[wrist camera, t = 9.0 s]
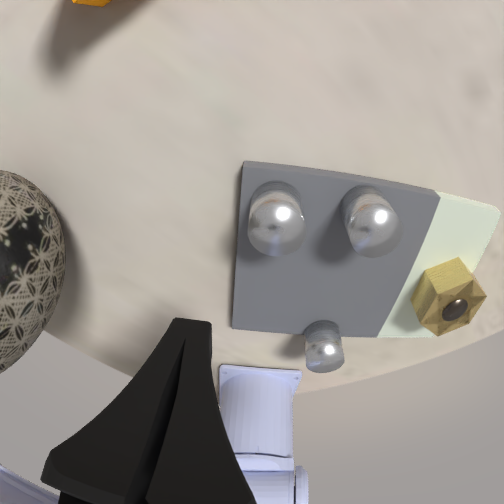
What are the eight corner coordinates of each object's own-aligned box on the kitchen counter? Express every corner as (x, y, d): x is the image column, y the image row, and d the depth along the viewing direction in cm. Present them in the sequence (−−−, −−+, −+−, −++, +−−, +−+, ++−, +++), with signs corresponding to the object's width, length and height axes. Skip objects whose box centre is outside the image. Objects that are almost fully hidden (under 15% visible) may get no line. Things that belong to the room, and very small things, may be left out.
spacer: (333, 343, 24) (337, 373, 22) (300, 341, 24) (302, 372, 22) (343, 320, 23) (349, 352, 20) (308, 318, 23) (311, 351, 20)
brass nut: (450, 313, 22) (460, 336, 20) (402, 312, 22) (411, 337, 20) (481, 259, 19) (496, 281, 16) (432, 253, 19) (447, 278, 16)
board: (429, 328, 25) (432, 337, 24) (233, 319, 25) (232, 328, 24) (494, 206, 17) (501, 213, 16) (244, 160, 17) (242, 166, 16)
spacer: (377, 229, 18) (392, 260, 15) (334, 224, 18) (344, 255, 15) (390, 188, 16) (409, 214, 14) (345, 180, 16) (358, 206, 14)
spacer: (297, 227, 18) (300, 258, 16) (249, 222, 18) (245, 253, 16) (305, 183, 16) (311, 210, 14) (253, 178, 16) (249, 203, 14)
